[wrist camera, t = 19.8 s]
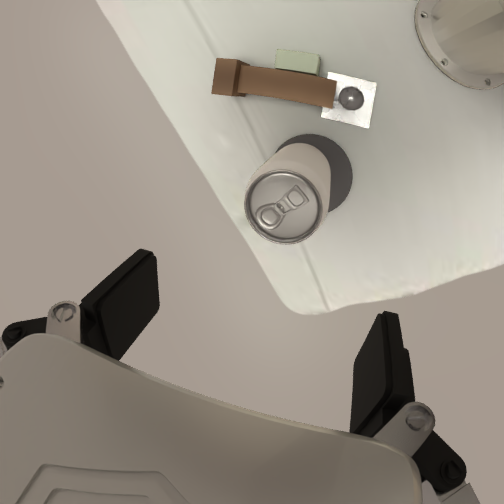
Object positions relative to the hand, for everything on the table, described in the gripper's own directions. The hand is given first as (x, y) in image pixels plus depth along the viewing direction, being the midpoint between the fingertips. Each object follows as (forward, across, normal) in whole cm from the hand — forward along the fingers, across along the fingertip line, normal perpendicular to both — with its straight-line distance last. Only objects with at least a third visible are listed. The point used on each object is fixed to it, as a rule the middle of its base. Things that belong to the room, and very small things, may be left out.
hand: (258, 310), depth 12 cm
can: (+23, +1, 0) cm, 23 cm away
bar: (+22, +4, -9) cm, 25 cm away
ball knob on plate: (+23, -2, -9) cm, 25 cm away
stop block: (+23, +3, -12) cm, 26 cm away
